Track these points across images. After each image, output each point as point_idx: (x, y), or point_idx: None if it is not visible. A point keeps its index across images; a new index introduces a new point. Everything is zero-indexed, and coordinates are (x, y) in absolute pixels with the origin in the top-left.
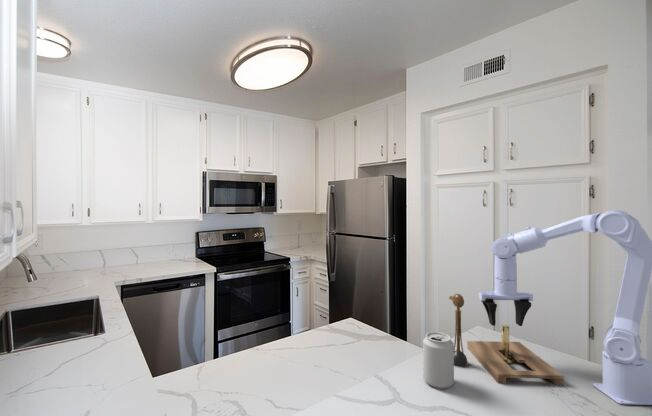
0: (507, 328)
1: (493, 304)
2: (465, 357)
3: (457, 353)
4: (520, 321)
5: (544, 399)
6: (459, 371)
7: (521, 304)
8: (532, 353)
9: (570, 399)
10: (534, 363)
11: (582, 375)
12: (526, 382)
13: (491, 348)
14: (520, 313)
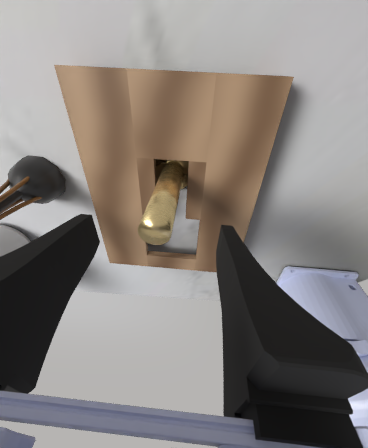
0: (157, 242)
1: (6, 390)
2: (48, 198)
3: (19, 202)
4: (217, 273)
5: (170, 283)
6: (47, 212)
7: (228, 394)
8: (254, 187)
9: (208, 285)
10: (213, 235)
11: (308, 238)
12: (169, 250)
13: (136, 146)
14: (223, 311)
